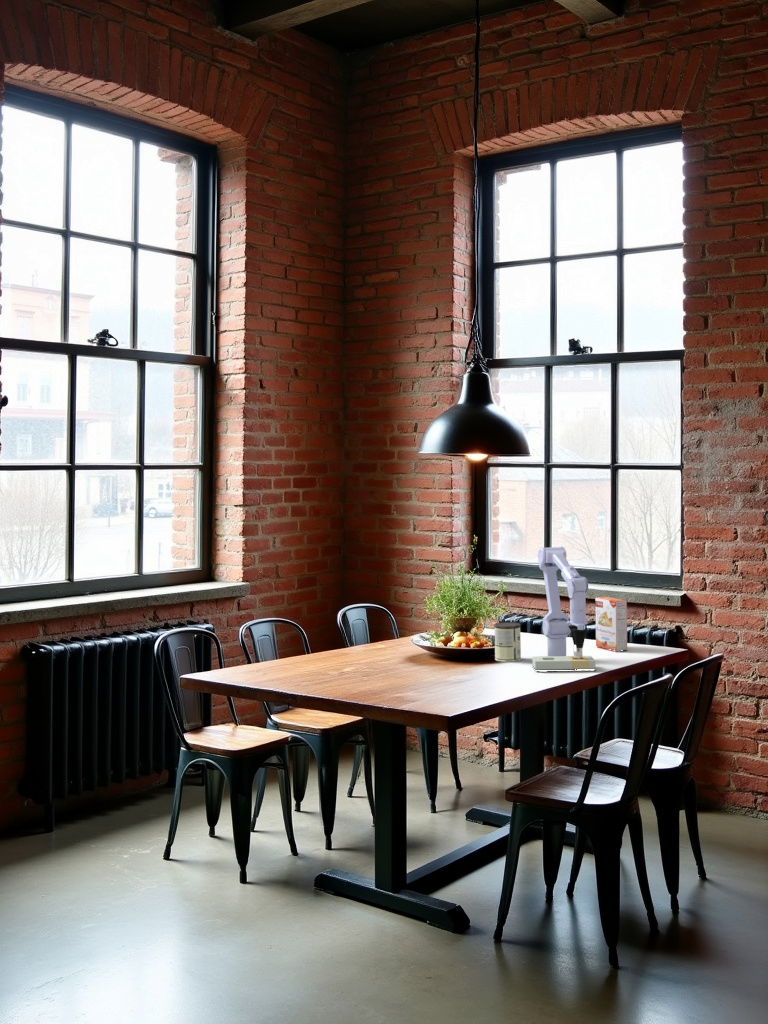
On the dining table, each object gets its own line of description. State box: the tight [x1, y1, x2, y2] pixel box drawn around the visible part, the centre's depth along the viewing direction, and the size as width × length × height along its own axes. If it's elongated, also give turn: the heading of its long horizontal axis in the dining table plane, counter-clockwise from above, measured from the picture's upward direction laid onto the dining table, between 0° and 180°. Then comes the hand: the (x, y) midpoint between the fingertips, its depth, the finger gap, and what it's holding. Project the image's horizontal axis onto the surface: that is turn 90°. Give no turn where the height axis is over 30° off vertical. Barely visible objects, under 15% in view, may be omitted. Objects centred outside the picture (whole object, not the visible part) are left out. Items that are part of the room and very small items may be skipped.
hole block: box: [532, 655, 596, 671], centre depth 405 cm, size 10×22×4 cm, turn 88°
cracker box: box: [595, 596, 628, 652], centre depth 445 cm, size 14×6×21 cm, turn 25°
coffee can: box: [493, 621, 522, 663], centre depth 426 cm, size 10×10×14 cm
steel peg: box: [573, 644, 583, 660], centre depth 404 cm, size 3×3×8 cm
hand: (578, 646), depth 404 cm, fingers open, 7 cm apart
